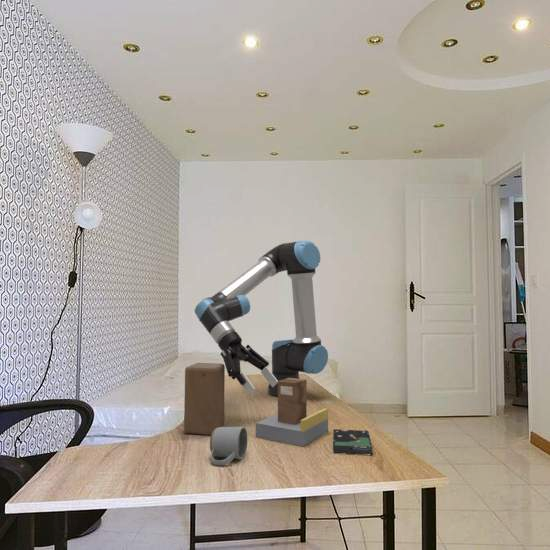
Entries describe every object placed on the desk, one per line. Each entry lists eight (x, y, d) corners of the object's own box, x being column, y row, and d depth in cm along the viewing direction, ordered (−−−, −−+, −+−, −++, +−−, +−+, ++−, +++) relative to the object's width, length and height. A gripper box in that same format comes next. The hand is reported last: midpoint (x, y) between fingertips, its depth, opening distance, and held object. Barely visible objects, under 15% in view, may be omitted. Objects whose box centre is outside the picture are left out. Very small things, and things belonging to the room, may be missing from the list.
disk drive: (332, 438, 129) (333, 455, 114) (332, 429, 129) (333, 444, 115) (368, 440, 128) (373, 457, 113) (368, 430, 128) (373, 446, 113)
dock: (283, 423, 142) (283, 402, 142) (328, 431, 133) (328, 408, 134) (255, 436, 128) (255, 412, 129) (303, 446, 120) (303, 420, 120)
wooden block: (214, 436, 129) (215, 367, 130) (182, 434, 131) (183, 366, 132) (225, 426, 138) (225, 363, 140) (195, 424, 140) (196, 362, 142)
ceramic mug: (218, 450, 116) (219, 421, 117) (248, 453, 114) (248, 423, 115) (202, 465, 106) (202, 433, 106) (234, 468, 104) (234, 436, 104)
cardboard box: (289, 416, 136) (289, 377, 136) (306, 419, 133) (306, 379, 133) (277, 421, 130) (277, 381, 130) (295, 425, 126) (295, 383, 127)
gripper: (241, 342, 158) (277, 388, 149) (195, 348, 136) (233, 403, 128) (254, 328, 155) (290, 374, 146) (208, 332, 134) (248, 387, 125)
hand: (264, 388), depth 137 cm, fingers open, 13 cm apart
